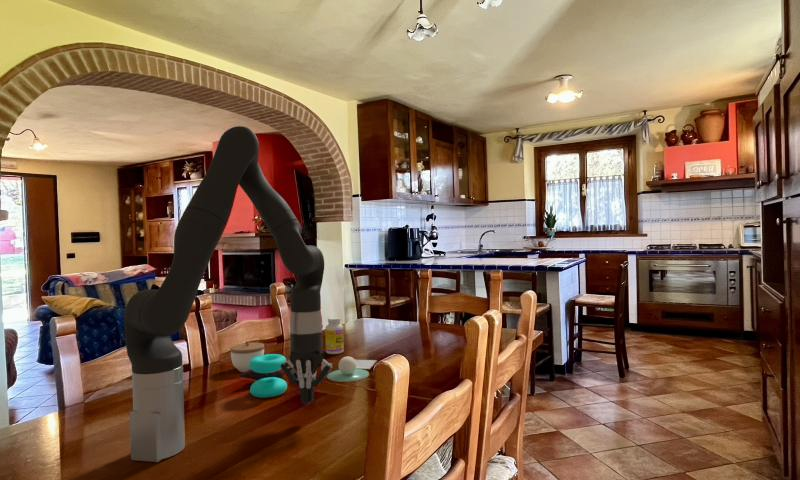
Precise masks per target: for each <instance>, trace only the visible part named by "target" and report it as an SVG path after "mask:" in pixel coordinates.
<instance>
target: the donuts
mask: <svg viewBox="0 0 800 480" xmlns="http://www.w3.org/2000/svg"><path fill="white" fill-rule="evenodd" d="M286 361H287V358H286V357H285V356H284V355H283V354H278V353H267V354H264V355H261V356H257V357H255V358H253V359H252V360H251V361H250V363H249V366H250V368H251V369H252V370H253V371H254V372H257V373H272V372H276V371H281V370H282V368H281V364H283V363H285V362H286ZM287 389H288V383H287V381H286V380H284V379H282V377H280V378H276V377H269V378H263V379H260V380H258V381H257V380H255V381H254V382H253V383H252V384H251V386H250V389H249V390H250V391H249V392H250V394H251V396H253V397H255V398H260V399H266V398H267V399H268V398H274V397H278V396H280V395H283V394H284V393H285V392H286V391H287Z"/></svg>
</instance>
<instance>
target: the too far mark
mask: <svg viewBox="0 0 800 480" xmlns="http://www.w3.org/2000/svg"><path fill="white" fill-rule="evenodd" d="M354 360H355V361H356V365H357V366H356V369H362V370H370V369H371V368H372V367H373V366H374V365H375V364H376V363H377V361H378V360H377V359H354Z"/></svg>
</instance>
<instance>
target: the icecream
mask: <svg viewBox="0 0 800 480" xmlns="http://www.w3.org/2000/svg"><path fill="white" fill-rule="evenodd" d="M283 376H284V371H283V370H282V371H281V370H279V371H276V372H272V373H257V372H254V371H253V370H252V369H250V370H248V371H246V372H242V373H241V374H240V375H239V377H240V378H244V379H249V380H254V381H258V380H260V379H263V378H269V377H276V378H282V377H283Z"/></svg>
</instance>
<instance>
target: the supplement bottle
mask: <svg viewBox="0 0 800 480" xmlns="http://www.w3.org/2000/svg"><path fill="white" fill-rule="evenodd" d="M341 319H342V318H341V317H339V316H334V317H333V316H332V317H328V318H327V322H328V323H327V325H326V326H325V327H324V328H325V329H324V330H325V353H326V354H328V355H339V354H342V353H344V351H345V350H344V348H345V347H344V346H345V344H344V337H345V336H344V325H342V323H341Z"/></svg>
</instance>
